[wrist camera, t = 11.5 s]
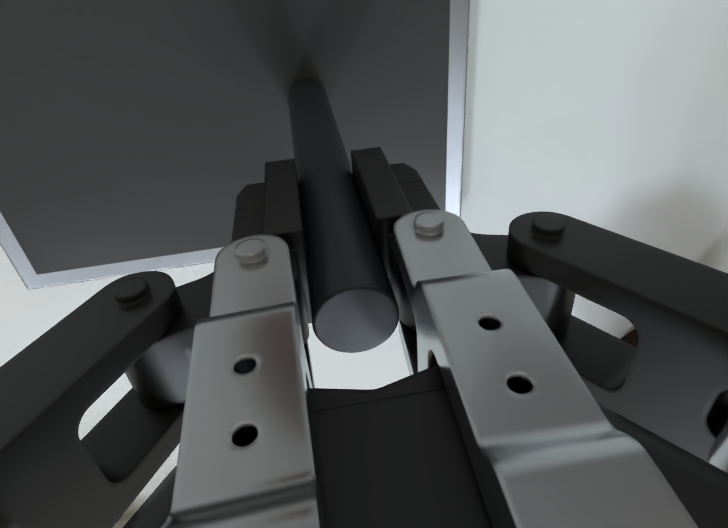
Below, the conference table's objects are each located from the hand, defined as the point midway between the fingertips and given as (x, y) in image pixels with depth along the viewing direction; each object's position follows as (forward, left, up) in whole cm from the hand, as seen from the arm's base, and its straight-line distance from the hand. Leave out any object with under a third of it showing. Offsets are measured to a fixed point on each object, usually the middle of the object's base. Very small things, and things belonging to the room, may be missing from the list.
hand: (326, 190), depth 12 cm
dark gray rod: (0, 0, -8) cm, 8 cm away
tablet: (+4, 0, -9) cm, 10 cm away
